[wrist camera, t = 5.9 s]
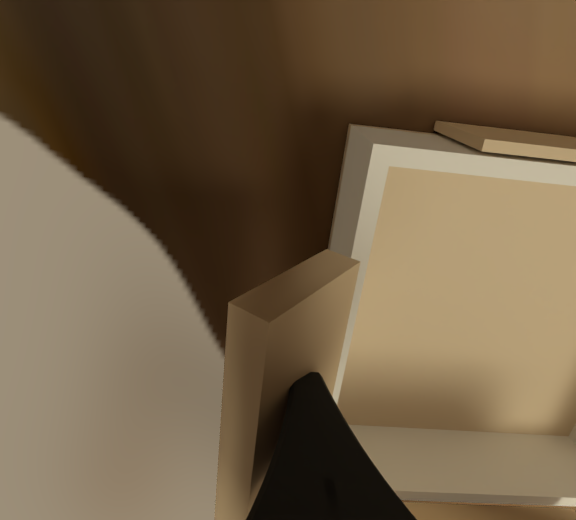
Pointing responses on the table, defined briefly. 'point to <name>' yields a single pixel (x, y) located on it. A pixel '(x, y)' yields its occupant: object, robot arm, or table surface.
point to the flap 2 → (486, 512)
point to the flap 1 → (276, 365)
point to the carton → (461, 311)
